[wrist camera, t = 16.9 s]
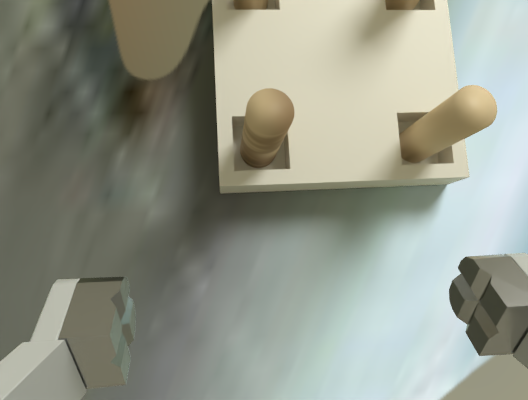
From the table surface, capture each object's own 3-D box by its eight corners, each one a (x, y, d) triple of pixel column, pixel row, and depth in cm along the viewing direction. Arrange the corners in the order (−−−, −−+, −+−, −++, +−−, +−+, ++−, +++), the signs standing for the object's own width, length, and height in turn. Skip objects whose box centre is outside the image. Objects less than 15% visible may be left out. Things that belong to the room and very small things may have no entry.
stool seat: (220, 193, 42) (218, 166, 30) (211, -25, 45) (205, -129, 33) (447, 184, 44) (530, 155, 32) (423, -23, 48) (489, -119, 36)
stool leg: (241, 168, 41) (247, 135, 30) (239, 133, 42) (244, 88, 31) (277, 167, 42) (296, 134, 31) (274, 132, 42) (292, 87, 31)
